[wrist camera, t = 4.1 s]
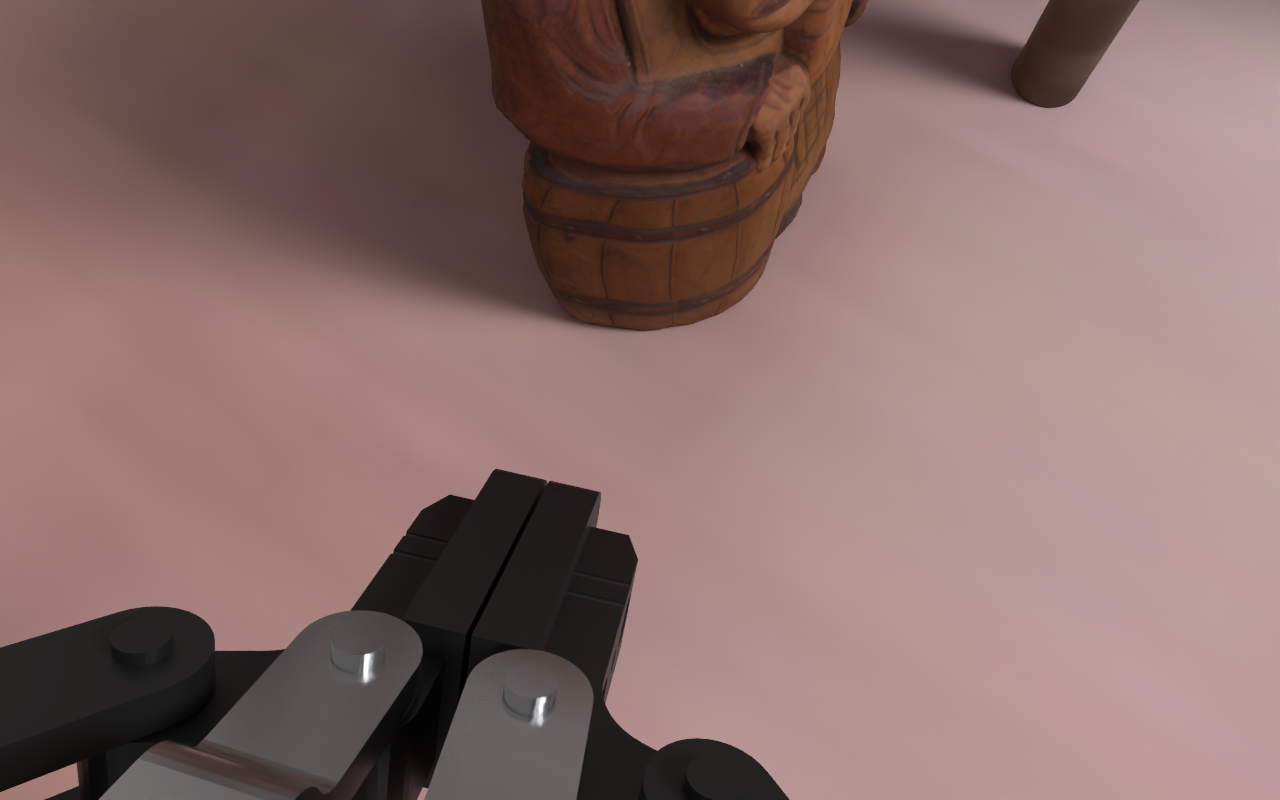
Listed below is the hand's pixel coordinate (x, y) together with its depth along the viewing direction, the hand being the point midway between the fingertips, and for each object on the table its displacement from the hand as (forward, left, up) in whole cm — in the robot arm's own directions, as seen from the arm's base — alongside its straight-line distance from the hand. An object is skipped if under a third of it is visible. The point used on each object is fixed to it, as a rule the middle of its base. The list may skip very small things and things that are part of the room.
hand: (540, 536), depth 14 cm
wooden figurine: (0, -15, -15) cm, 21 cm away
